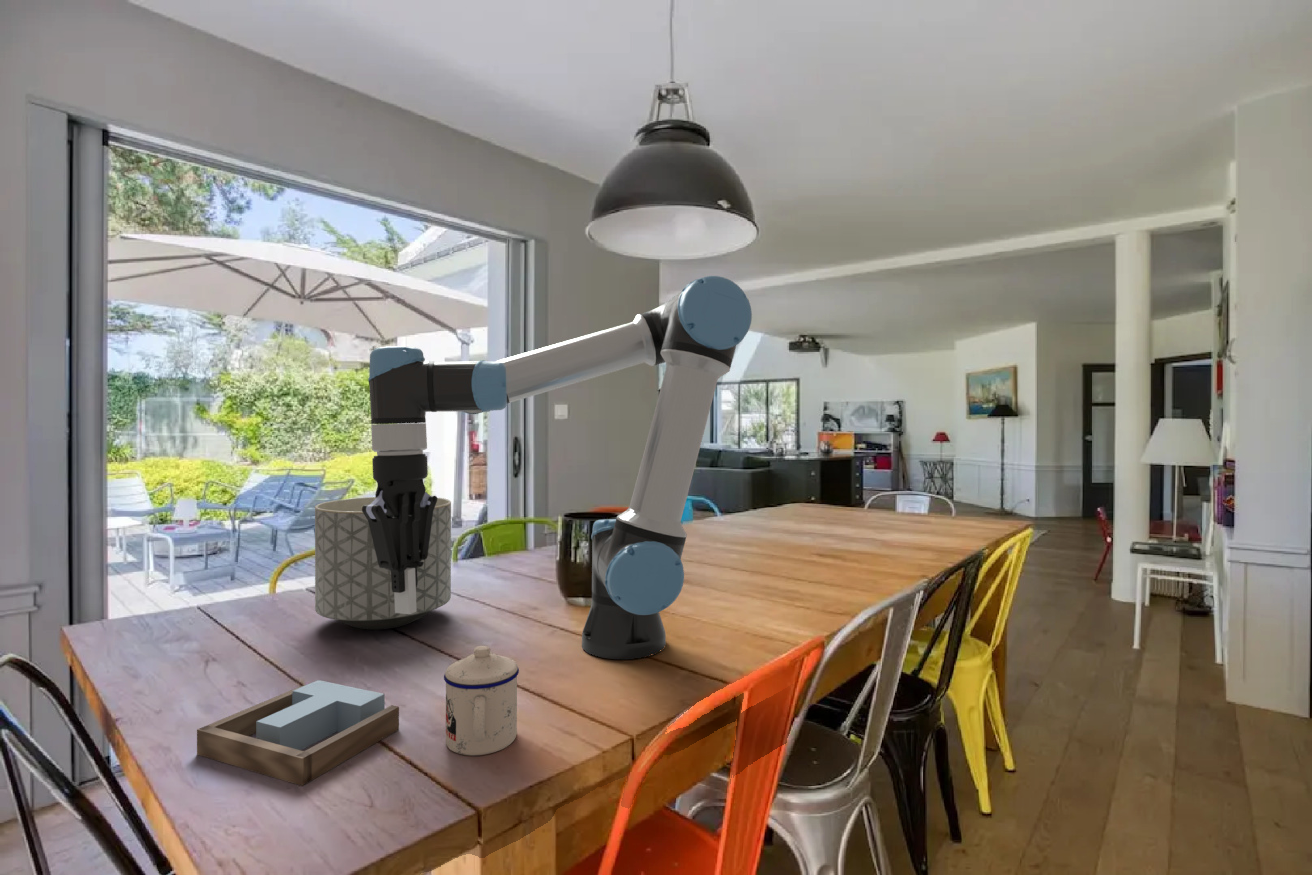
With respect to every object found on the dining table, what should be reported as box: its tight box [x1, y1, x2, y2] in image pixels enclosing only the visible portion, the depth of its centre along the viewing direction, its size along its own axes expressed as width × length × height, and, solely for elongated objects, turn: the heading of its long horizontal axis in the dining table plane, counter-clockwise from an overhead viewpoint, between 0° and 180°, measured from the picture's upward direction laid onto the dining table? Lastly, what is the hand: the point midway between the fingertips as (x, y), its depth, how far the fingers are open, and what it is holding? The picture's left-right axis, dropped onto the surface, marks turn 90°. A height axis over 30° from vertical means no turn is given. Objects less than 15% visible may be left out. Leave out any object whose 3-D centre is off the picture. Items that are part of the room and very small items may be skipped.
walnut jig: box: [196, 685, 400, 787], centre depth 80 cm, size 17×14×3 cm
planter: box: [314, 496, 452, 631], centre depth 129 cm, size 25×25×24 cm
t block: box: [255, 679, 386, 751], centre depth 82 cm, size 12×12×4 cm
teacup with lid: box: [443, 645, 520, 756], centre depth 80 cm, size 12×9×12 cm
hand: (405, 611), depth 95 cm, fingers closed
